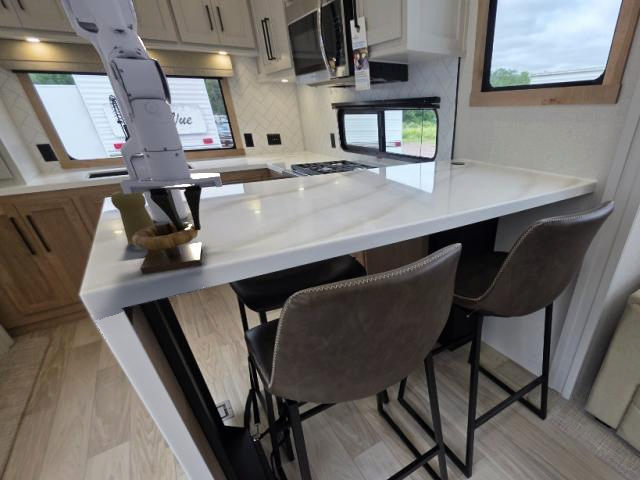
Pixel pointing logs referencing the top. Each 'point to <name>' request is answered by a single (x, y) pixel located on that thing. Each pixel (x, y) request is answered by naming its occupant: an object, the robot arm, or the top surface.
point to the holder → (171, 254)
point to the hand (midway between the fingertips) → (189, 229)
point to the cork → (132, 212)
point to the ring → (164, 237)
